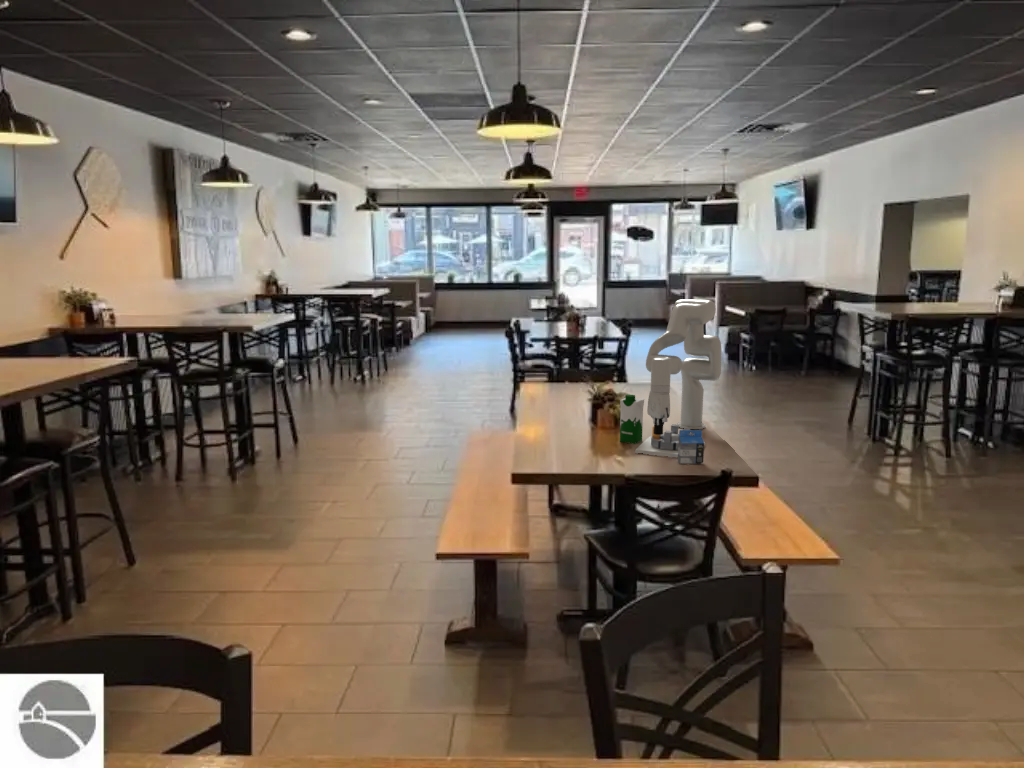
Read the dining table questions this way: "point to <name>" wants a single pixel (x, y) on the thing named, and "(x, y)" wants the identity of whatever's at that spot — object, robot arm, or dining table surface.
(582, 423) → the dining table surface
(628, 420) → the milk carton
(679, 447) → the label tape cartridge
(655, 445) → the ring nut
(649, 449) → the cap base
